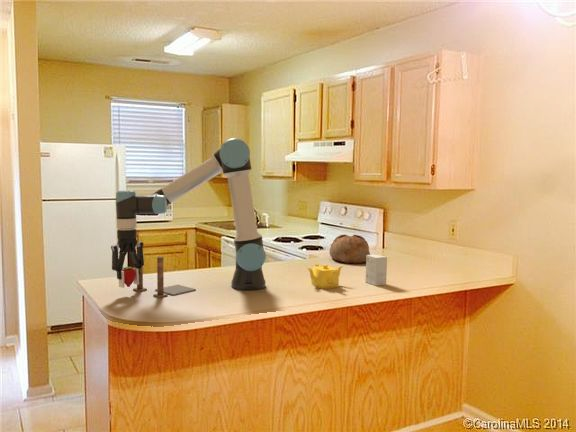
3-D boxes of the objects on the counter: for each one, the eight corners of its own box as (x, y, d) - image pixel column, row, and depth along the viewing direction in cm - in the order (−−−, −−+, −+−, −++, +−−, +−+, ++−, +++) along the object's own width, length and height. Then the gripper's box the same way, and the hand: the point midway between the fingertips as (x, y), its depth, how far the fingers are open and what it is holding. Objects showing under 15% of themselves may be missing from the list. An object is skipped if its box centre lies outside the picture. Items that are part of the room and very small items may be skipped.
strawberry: (124, 289, 198) (124, 264, 197) (117, 286, 204) (116, 262, 203) (139, 287, 202) (138, 263, 201) (131, 284, 208) (130, 260, 207)
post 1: (146, 290, 211) (146, 253, 210) (138, 292, 208) (138, 254, 207) (141, 288, 214) (140, 251, 212) (133, 290, 211) (132, 253, 209)
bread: (372, 265, 279) (373, 238, 277) (330, 264, 279) (331, 237, 278) (366, 256, 305) (367, 232, 303) (328, 255, 305) (329, 231, 304)
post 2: (167, 296, 203) (167, 257, 201) (159, 298, 200) (159, 258, 198) (161, 294, 205) (161, 256, 204) (153, 296, 202) (153, 257, 201)
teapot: (314, 280, 236) (315, 260, 235) (343, 283, 231) (344, 263, 230) (304, 287, 223) (305, 266, 222) (335, 291, 218) (336, 269, 217)
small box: (386, 284, 231) (387, 257, 230) (375, 286, 228) (376, 257, 227) (376, 281, 238) (377, 254, 237) (365, 282, 235) (366, 254, 234)
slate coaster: (195, 290, 213) (195, 289, 213) (173, 295, 204) (173, 294, 204) (177, 285, 220) (177, 284, 220) (155, 290, 211) (155, 289, 211)
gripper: (141, 226, 210) (143, 280, 212) (100, 230, 195) (102, 288, 198) (152, 227, 205) (154, 282, 208) (110, 232, 191) (113, 291, 193)
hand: (129, 285), depth 203 cm, fingers closed on strawberry, 6 cm apart
